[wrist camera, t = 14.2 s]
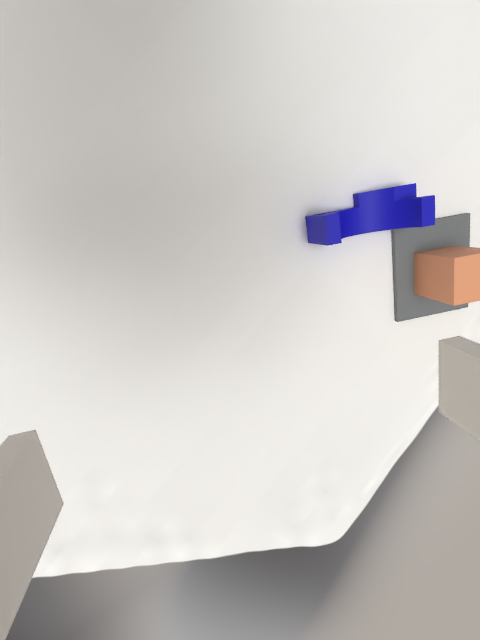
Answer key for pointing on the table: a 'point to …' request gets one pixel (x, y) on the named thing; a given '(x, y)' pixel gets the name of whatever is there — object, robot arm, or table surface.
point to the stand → (403, 250)
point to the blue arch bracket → (373, 215)
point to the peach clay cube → (448, 274)
